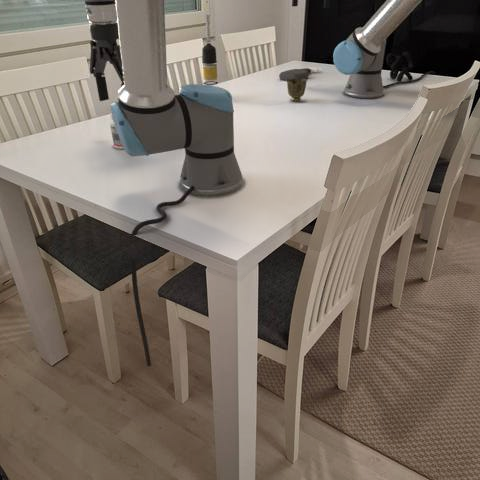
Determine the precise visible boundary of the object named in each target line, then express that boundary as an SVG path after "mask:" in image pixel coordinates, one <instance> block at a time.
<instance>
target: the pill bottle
mask: <svg viewBox="0 0 480 480" xmlns="http://www.w3.org/2000/svg"><path fill="white" fill-rule="evenodd" d="M110 119H111V121H110V123H109V126H110V131H111V137H112V143H113V147H114V148H115V149H120V150H121V149H123V150H124V148H123V145H122V143H121V141H120V138H119V135H118V133H117V130H116V127H115V123H114V120H113V117H112V113H111V114H110Z"/></svg>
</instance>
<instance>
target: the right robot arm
mask: <svg viewBox="0 0 480 480" xmlns="http://www.w3.org/2000/svg"><path fill="white" fill-rule="evenodd" d="M330 1H331V0H323V9H327V8H330V3H331V2H330ZM422 1H423V0H386V1H384V3H383V4H382V5H381V6H380V7H379V8H378V9H377V11H375V13H374V14H373V15H372V16H371V17H370V19H369V20H368V21H367V22H366V23H365V25H364V26H363V27H361V26H360V27H357V28H355V30H353V32H352V33H351V34H350V35H349V36H348V37H347V38H346V40H343V41H341V42H340V43H338V44H337V46H336V47H335V48H334V51H333V54H332V59H333V60H332V61H333V65H334V67H335V68H336V70H337V71H338V72H339V73H340V74H342V75H346V76H349V77H348V79H347V82H346V84H345V86H344V92H343V93H344V95H346V96H348V97H350V98H356V99H376V98H377V99H378V98H380V97H383V95H384V89H385V88H390V87H392V86H395V85H403V84H405V85H406V84H410V83H415V82H417V81H420V80H421V79H422V78H423V77H425V76H427V75H429V74H433V75H434V76H436V75H437V73H436V72H435V71H433V70H430V71H427V72H425V73H423V74H421V75H420V77H418V78H415V79H412V80H408V81H407V80H405V81H400V82H398V81H395V82H392V83H389V84H386V85H383V78H382V70H383V64H384V57H385V51H386V45H387V38H388V37H389V36H390V35H391V34H392V33H393V32H394V31H395V30H396V29H397V28H398V27H399V26H400V24H401V23H403V21H404V20H405V19H406V18H407V17H408V16H409V15H410V14H411V13H412V12H414V10H415V9H416V8H417V7H418V5H420V3H421V2H422ZM298 4H299V0H292V1H291V7H298Z"/></svg>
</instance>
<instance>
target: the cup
mask: <svg viewBox="0 0 480 480" xmlns="http://www.w3.org/2000/svg"><path fill="white" fill-rule="evenodd" d="M286 81H287V82H286V84H287V93H288V96H289V97H291V98H290V100H291V101H292V102H293V103H294V102H295V103H298V102H300V101H301V99H302V97H303V96H304V94H305V91H306V87H307V83H308V82H307V81H308V79H307V78H306V79H303V78H302V79H301V80H299V78H297V79H296V78H292V80H291V79H290V81H289V79H287V80H286Z"/></svg>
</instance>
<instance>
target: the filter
mask: <svg viewBox="0 0 480 480" xmlns="http://www.w3.org/2000/svg"><path fill="white" fill-rule="evenodd" d="M210 17H211V14H204V18H205V27H206V29H205V30H206V31H205V33H206V39H207V40H206V42H207V43H206V45H204V46H202V49H201V50H202V51H201V52H202V54H201V55H202V57H201V58H202V61H201V63H202V71H203V72H202V73H203V74H202V75H203V80H204V82H203V85H210V86H215V85H217V84H219V82H218V81H216V80H218V64H216V63H218V61H217V48H216V47H215V46H214V45H212V43H210V42H211V40H210V39H211V31H210V29H211V28H210Z"/></svg>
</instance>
